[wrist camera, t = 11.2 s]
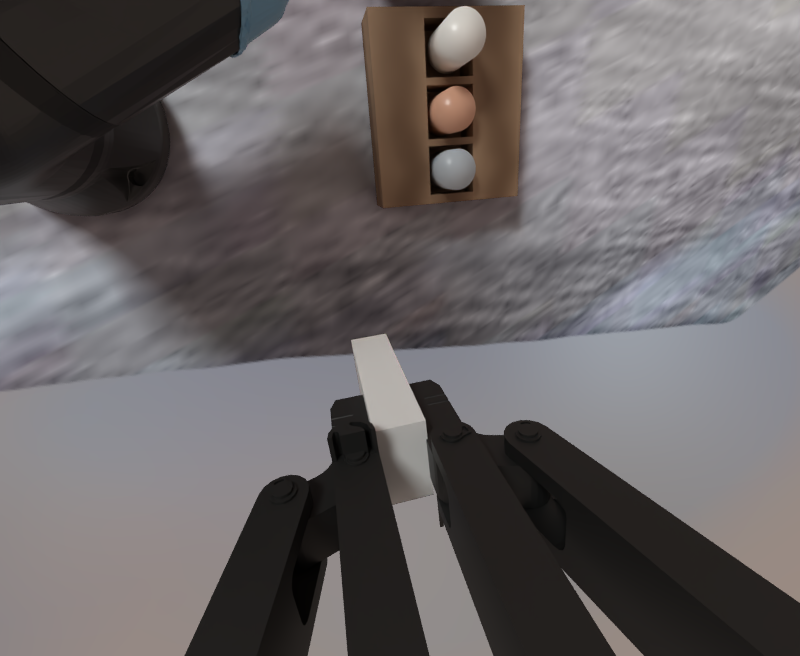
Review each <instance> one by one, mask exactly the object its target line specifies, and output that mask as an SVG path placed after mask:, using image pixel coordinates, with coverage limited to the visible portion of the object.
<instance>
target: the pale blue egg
mask: <svg viewBox="0 0 800 656" xmlns="http://www.w3.org/2000/svg"><path fill="white" fill-rule="evenodd" d="M429 164H430V183H431V184H432V185H433V186H435V187H437V188H444V189H452V190H460V189H463V188H465V187H467V186H468V185H469V184H470V183H471V182H472V180H473V178H474V176H475V171H476V165H475V161H474V159H473V157H472V155H471V154H470V153H469V152H468V151H466V150H464V149H451V150H445V151H439V152H436V153H434V154H433V155H432V156H431V157H430V158H429Z"/></svg>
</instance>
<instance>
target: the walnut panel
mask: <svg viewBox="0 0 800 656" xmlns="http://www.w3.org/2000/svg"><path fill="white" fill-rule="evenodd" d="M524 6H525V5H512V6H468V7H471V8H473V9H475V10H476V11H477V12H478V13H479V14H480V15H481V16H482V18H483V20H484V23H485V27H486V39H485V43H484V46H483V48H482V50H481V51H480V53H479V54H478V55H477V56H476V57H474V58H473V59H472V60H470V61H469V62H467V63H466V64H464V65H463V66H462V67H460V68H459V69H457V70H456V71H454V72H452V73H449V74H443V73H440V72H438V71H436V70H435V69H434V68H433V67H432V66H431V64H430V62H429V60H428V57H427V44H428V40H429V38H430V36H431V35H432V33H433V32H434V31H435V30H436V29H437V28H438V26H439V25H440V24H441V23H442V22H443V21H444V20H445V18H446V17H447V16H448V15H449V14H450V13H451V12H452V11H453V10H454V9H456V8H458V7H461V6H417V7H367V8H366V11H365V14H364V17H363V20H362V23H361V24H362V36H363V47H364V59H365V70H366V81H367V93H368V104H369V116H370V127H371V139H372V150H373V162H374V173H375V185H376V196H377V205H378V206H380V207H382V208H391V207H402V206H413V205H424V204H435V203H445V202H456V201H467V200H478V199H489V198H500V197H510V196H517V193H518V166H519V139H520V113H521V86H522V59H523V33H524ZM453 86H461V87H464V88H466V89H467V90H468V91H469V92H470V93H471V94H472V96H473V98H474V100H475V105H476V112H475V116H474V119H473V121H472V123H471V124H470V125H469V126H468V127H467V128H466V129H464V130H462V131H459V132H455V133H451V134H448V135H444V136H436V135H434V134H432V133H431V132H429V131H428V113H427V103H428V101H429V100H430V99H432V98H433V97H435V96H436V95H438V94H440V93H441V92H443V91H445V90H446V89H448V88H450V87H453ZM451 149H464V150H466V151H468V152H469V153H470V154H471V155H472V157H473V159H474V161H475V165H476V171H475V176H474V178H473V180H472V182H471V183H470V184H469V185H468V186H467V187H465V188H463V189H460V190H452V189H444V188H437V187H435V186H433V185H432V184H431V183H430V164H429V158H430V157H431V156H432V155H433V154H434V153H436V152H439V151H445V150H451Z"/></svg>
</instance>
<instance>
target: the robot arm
mask: <svg viewBox="0 0 800 656" xmlns="http://www.w3.org/2000/svg"><path fill="white" fill-rule="evenodd" d="M288 1H289V0H0V205H5V204H14V203H22V202H27V203H30V204H32V205H35V206H37V207H40V208H43V209H46V210H49V211H52V212H56V213H61V214H66V215H74V216H97V215H104V214H109V213H114V212H118V211H122V210H125V209H127V208H130V207H132V206H134V205H136V204H137V203H139V202H141V201H142V200H143V199H145V198H146V197H147V196H148V195H149V194H150V193H151V192H152V191H153V190H154V189H155V188H156V186H157V185H158V183H159V182H160V180H161V178H162V176H163V174H164V172H165V169H166V166H167V162H168V158H169V149H170V138H169V129H168V124H167V119H166V116H165V112H164V110H163V107H162V105H161V102H160V100H162V99H163V98H165V97H166V96H168V95H169V94H171V93H173V92H174V91H176V90H177V89H179V88H180V87H182V86H184V85H185V84H187V83H188V82H190V81H191V80H193V79H195V78H196V77H198V76H199V75H201V74H202V73H204V72H206V71H207V70H209V69H210V68H212V67H213V66H215V65H217V64H218V63H220V62H221V61H223V60H224V59H226V58H228V57H229V56H230V57H232V58H233V57H237V56H239V55H241V54H242V52H243V51H244V50H245V49H246V47H247V44H249V43H250V42H251V41H253V40H254V39H256V38H257V37H258V36H260V35H261V34H263V33H264V32H265V31H267V30H268V29H270V28H271V27H272V26H274V25H275V24H276V23H277V22H278V21H279V20H280V19H281V18H282V16H283V14H284V11H285V7H286V5H287V4H288ZM351 343H352V349H353V354H354V360H355V365H356V371H357V377H358V382H359V388H360V393H361V395H359V396H354V397H350V398H345V399H340V400H336V401H335V402H334V404H333V406H332V408H331V409H330V410H331V422H332V430H331V431H330V432H329V433H328V438H327V440H328V445H329V449H330V454H331V458H332V464H331V465H330V466H329V468H328V469H327V470H326V471H324V472H323V473H322V474H320V475H319V476H317V477H315V478H313V479H311V480H309V481H306V479H305V478H303V477H301V476H298V475H288V476H283V477H280V478H278V479H275V480H273V481H272V482H270V483H269V484H268V485H266V486H265V487H264V488H263V490H262V491H261V492H260V494H259V496H258V498H257V500H256V502H255V504H254V506H253V508H252V511H251V513H250V515H249V517H248V519H247V521H246V524H245V526H244V528H243V531H242V532H241V534H240V537H239V539H238V541H237V543H236V545H235V548H234V550H233V552H232V554H231V556H230V558H229V561H228V563H227V565H226V567H225V569H224V571H223V574H222V576H221V578H220V580H219V582H218V584H217V587H216V589H215V591H214V593H213V595H212V597H211V600H210V602H209V604H208V606H207V608H206V611H205V613H204V615H203V617H202V619H201V621H200V624H199V626H198V628H197V630H196V632H195V634H194V637H193V639H192V641H191V643H190V645H189V647H188V649H187V652H186V654H185V656H307V655H308V651H309V646H310V641H311V636H312V632H313V627H314V623H315V618H316V613H317V608H318V604H319V599H320V595H321V590H322V585H323V581H324V576H325V571H326V567H327V557H329V556H331V555H332V554H334V553H336V552H337V551H339V550H340V562H341V575H342V587H343V600H344V612H345V624H346V638H347V651H348V656H429V652H428V648H427V644H426V640H425V636H424V632H423V628H422V624H421V619H420V615H419V611H418V607H417V604H416V600H415V595H414V591H413V587H412V583H411V579H410V575H409V571H408V568H407V563H406V559H405V555H404V551H403V547H402V543H401V539H400V535H399V531H398V527H397V523H396V519H395V514H394V510H393V506H392V505H394V504H397V503H401V502H405V501H409V500H413V499H417V498H422V497H426V496H430V495H433V486H434V488H435V491H436V493H437V501H438V511H439V521H440V527H443V526H444V525H445V527H446V530H447V532H448V535H449V538H450V541H451V543H452V546H453V549H454V551H455V554H456V557H457V559H458V562H459V565H460V567H461V570H462V573H463V575H464V578H465V581H466V584H467V586H468V589H469V591H470V594H471V597H472V600H473V602H474V605H475V607H476V610H477V613H478V616H479V618H480V621H481V624H482V626H483V629H484V631H485V634H486V637H487V640H488V642H489V645H490V648H491V650H492V653H493V656H616V655H615V653H614V652H613V650H612V649H611V647H610V645H609V644H608V642H607V641H606V639H605V638H604V636H603V634H602V633H601V631H600V629H599V628H598V626H597V625H596V623H595V622H594V620H593V618H592V617H591V615H590V613H589V612H588V610H587V609H586V607H585V606H584V604H583V602H582V601H581V599H580V598H579V596H578V594H577V593H576V591H575V590H574V588H573V586H572V585H571V583H570V582H569V580H568V579H567V577H566V575H565V574H564V572H563V570H564V571H565V572H566V573H567V575H568V576H569V577H570V578H571V579H572V580H573V581H574V582H575V583H576V584H577V585H578V586H579V587H580V588H581V589H582V590H583V591H584V593H585V594H586V595H587V596H588V597H589V598H590V599H591V600H592V601H593V602H594V603H595V604H596V605H597V606H598V607H599V608H600V609H601V611H602V612H603V613H604V614H605V615H606V616H607V617H608V618H609V619H610V620H611V621H612V622H613V623H614V624H615V625H616V626H617V627H618V628H619V630H621V632H622V633H623V634H624V635H625V636H626V637H627V638H628V639H629V640H630V641H631V642H632V643H633V644H634V645H635V647H637V649H638V650H639V651H640V652H641V653H642V654H643V655H644V656H800V603H799V602H797V601H796V600H794V599H793V598H792V597H790V596H789V595H787V594H786V593H785V592H783V591H782V590H780V589H779V588H777V587H776V586H774V585H773V584H772V583H770V582H769V581H767V580H766V579H764V578H763V577H762V576H760V575H759V574H757V573H756V572H754V571H753V570H752V569H750V568H748V567H747V566H745V565H744V564H743V563H741V562H740V561H739V560H737V559H736V558H734V557H733V556H731V555H730V554H729V553H727V552H726V551H724V550H723V549H721V548H720V547H719V546H717V545H716V544H714V543H713V542H711V541H710V540H709V539H707V538H706V537H704V536H703V535H701V534H700V533H698V532H697V531H695V530H694V529H693V528H691V527H690V526H688V525H687V524H686V523H684V522H682V521H681V520H680V519H678V518H677V517H675V516H674V515H673V514H671V513H670V512H668V511H667V510H665V509H664V508H663V507H661V506H660V505H658V504H657V503H655V502H654V501H652V500H651V499H650V498H648V497H647V496H645V495H644V494H642V493H641V492H640V491H638V490H637V489H635V488H634V487H632V486H631V485H630V484H628V483H627V482H625V481H624V480H622V479H621V478H620V477H618V476H617V475H615V474H614V473H612V472H611V471H609V470H608V469H607V468H605V467H604V466H602V465H601V464H599V463H598V462H597V461H595V460H594V459H592V458H591V457H589V456H588V455H587V454H585V453H584V452H582V451H581V450H579V449H578V448H577V447H575V446H574V445H572V444H571V443H569V442H568V441H567V440H565V439H564V438H562V437H561V436H559V435H558V434H556V433H555V432H553V431H552V430H551V429H549V428H548V427H546V426H545V425H542V424H541V423H539V422H535V421H530V420H520V421H516V422H512V423H511V424H509V425H508V426H507V427H506V428H505V430H504V435H482V434H478V433H476V432H475V430H474V429H473V428H472V427H471V426H470V425H468V424H466V423H463V422H461V420H460V419H459V417H458V415H457V413H456V412H455V410H454V408H453V407H452V405H451V403H450V402H449V401H448V398H447V397H446V395H445V394H444V392H443V390H442V388H441V387H440V385H438V384H437V383H435V382H433V381H432V380H426V381H422V382H417V383H412V384H409V383H408V381H407V379H406V377H405V374H404V372H403V370H402V368H401V366H400V364H399V361H398V359H397V357H396V355H395V353H394V351H393V348H392V346H391V344H390V342H389V340H388V338H387V335H386V334H381V335H375V336H370V337H365V338H359V339H354V340H351ZM432 483H433V484H432ZM561 568H562V569H563V570H562V569H561Z"/></svg>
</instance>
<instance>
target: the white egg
mask: <svg viewBox="0 0 800 656" xmlns="http://www.w3.org/2000/svg"><path fill="white" fill-rule="evenodd" d="M485 39H486V27H485V23H484V20H483V18H482V16H481V15H480V14H479V13H478V12H477V11H476V10H475V9H473V8H471V7H468V6H461V7H458V8H456V9H454V10H453V11H452V12H451V13H450V14H449V15H448V16H447V17H446V18H445V20H444V21H443V22H442V23H441V24H440V25H439V26H438V28H437V29H436V30H435V31H434V32H433V33H432V35H431V36H430V38H429V40H428V44H427V57H428V60H429V62H430V64H431V66H432V67H433V68H434V69H435V70H436V71H438V72H440V73H443V74H449V73H452V72H454V71H456V70H457V69H459V68H460V67H462V66H463V65H464V64H466V63H467V62H469V61H470V60H472V59H473V58H474V57H476V56H477V55H478V54H479V53H480V51H481V50H482V48H483V46H484V43H485Z"/></svg>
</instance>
